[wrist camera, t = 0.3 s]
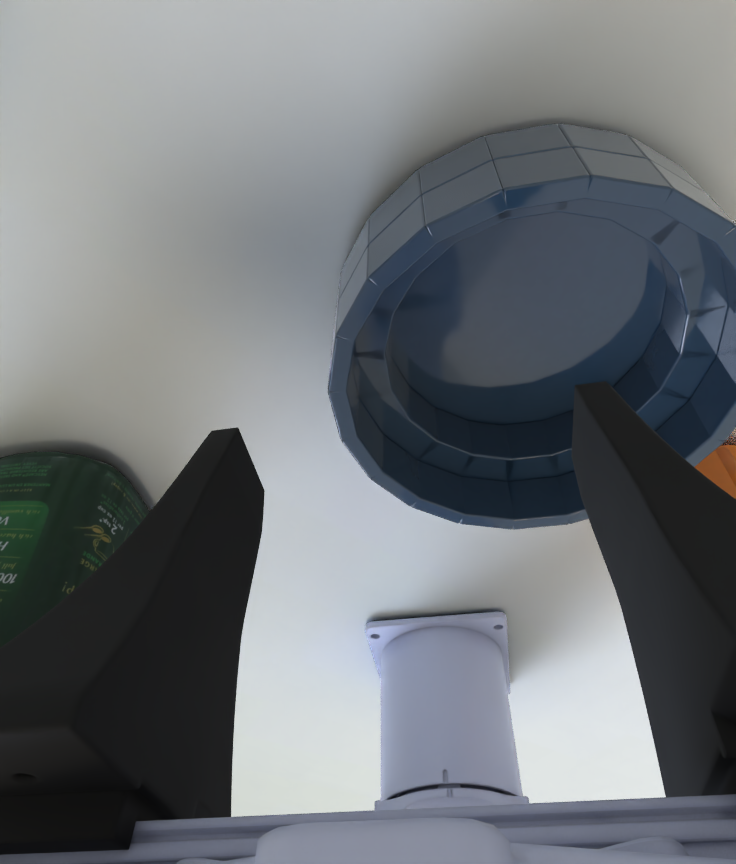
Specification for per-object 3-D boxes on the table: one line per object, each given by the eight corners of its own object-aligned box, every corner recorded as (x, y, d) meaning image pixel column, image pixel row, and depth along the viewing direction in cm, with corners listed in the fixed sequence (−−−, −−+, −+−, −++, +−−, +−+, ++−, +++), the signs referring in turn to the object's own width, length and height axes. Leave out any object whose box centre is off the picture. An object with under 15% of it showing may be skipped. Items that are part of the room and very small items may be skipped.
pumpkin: (755, 514, 30) (810, 613, 27) (632, 526, 31) (668, 624, 27) (786, 427, 27) (856, 527, 23) (646, 442, 27) (690, 541, 24)
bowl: (682, 427, 27) (725, 510, 24) (369, 462, 28) (368, 543, 25) (756, 82, 18) (840, 135, 15) (298, 159, 20) (282, 223, 16)
